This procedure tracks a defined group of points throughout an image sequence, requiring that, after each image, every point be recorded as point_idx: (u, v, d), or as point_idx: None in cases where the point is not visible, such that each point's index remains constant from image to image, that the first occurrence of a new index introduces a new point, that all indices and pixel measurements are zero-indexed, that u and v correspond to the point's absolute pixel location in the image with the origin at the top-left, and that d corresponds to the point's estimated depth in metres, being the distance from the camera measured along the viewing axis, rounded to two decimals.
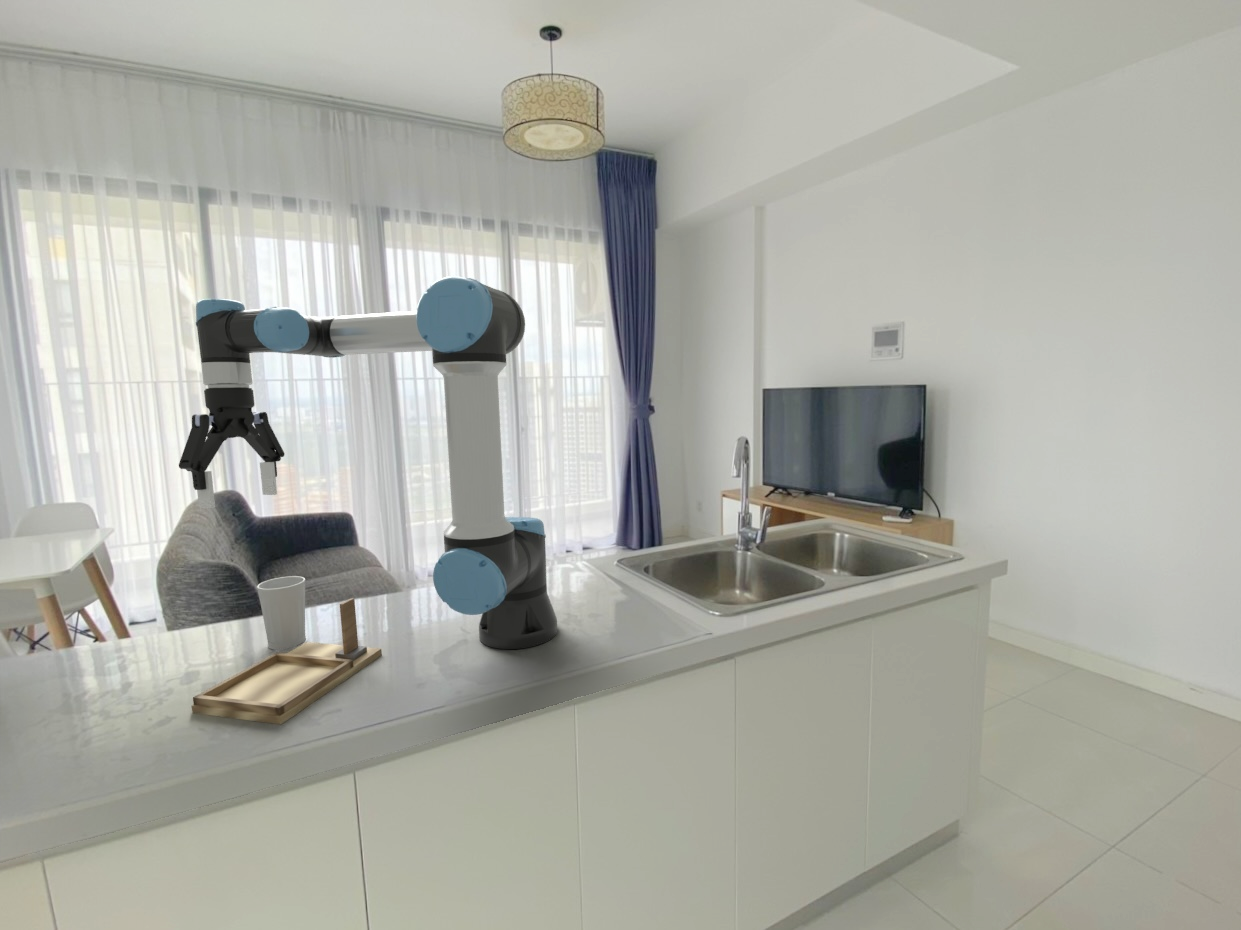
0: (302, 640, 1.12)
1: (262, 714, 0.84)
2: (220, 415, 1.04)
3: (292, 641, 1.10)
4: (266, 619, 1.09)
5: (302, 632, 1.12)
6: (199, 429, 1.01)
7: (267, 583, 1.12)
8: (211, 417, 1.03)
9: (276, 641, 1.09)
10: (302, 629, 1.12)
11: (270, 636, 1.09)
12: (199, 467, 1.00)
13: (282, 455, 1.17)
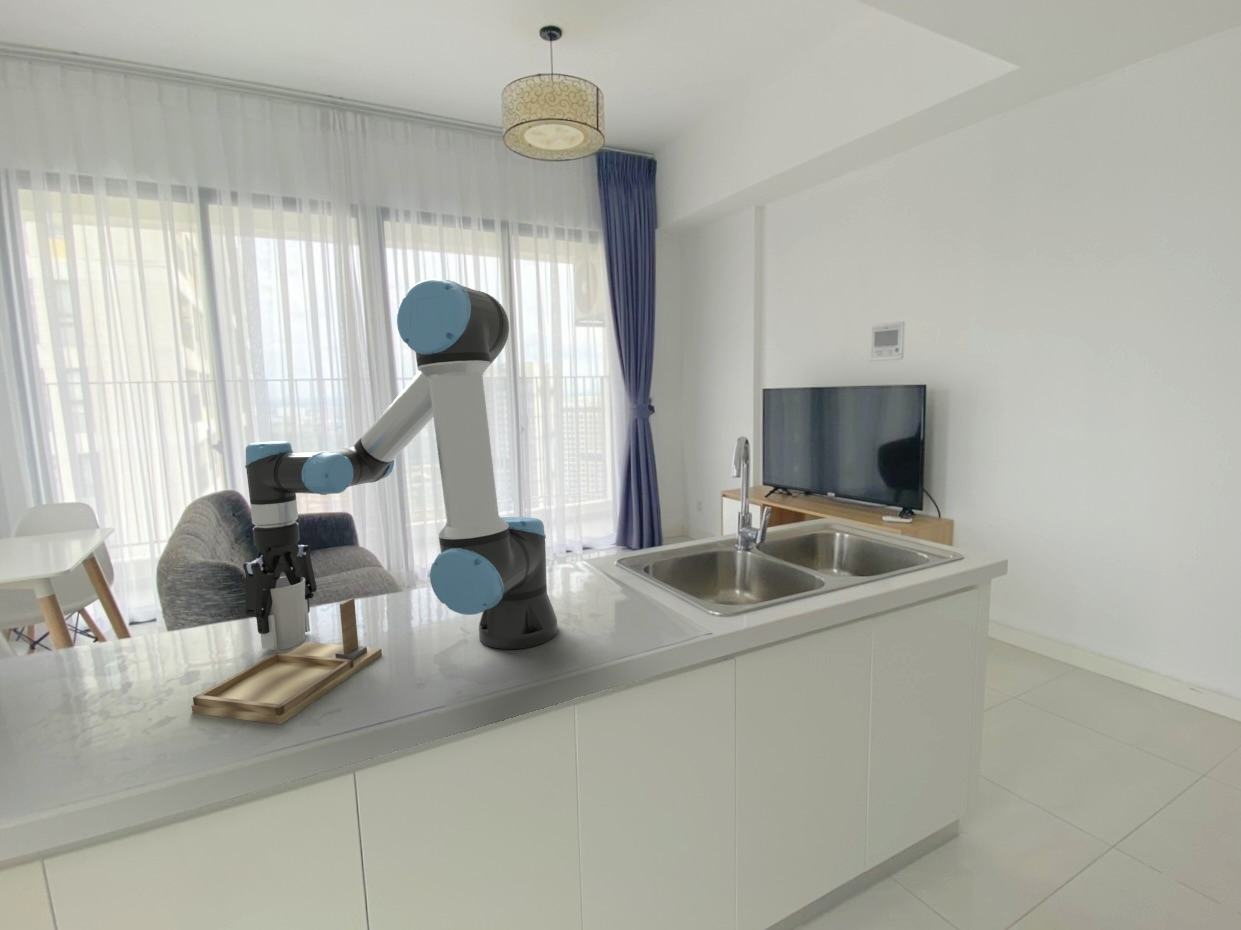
0: (302, 640, 1.12)
1: (262, 714, 0.84)
2: (268, 555, 1.07)
3: (292, 641, 1.10)
4: None
5: (302, 632, 1.12)
6: (254, 578, 1.04)
7: None
8: (260, 560, 1.06)
9: None
10: (302, 629, 1.12)
11: None
12: (263, 614, 1.06)
13: (314, 590, 1.18)
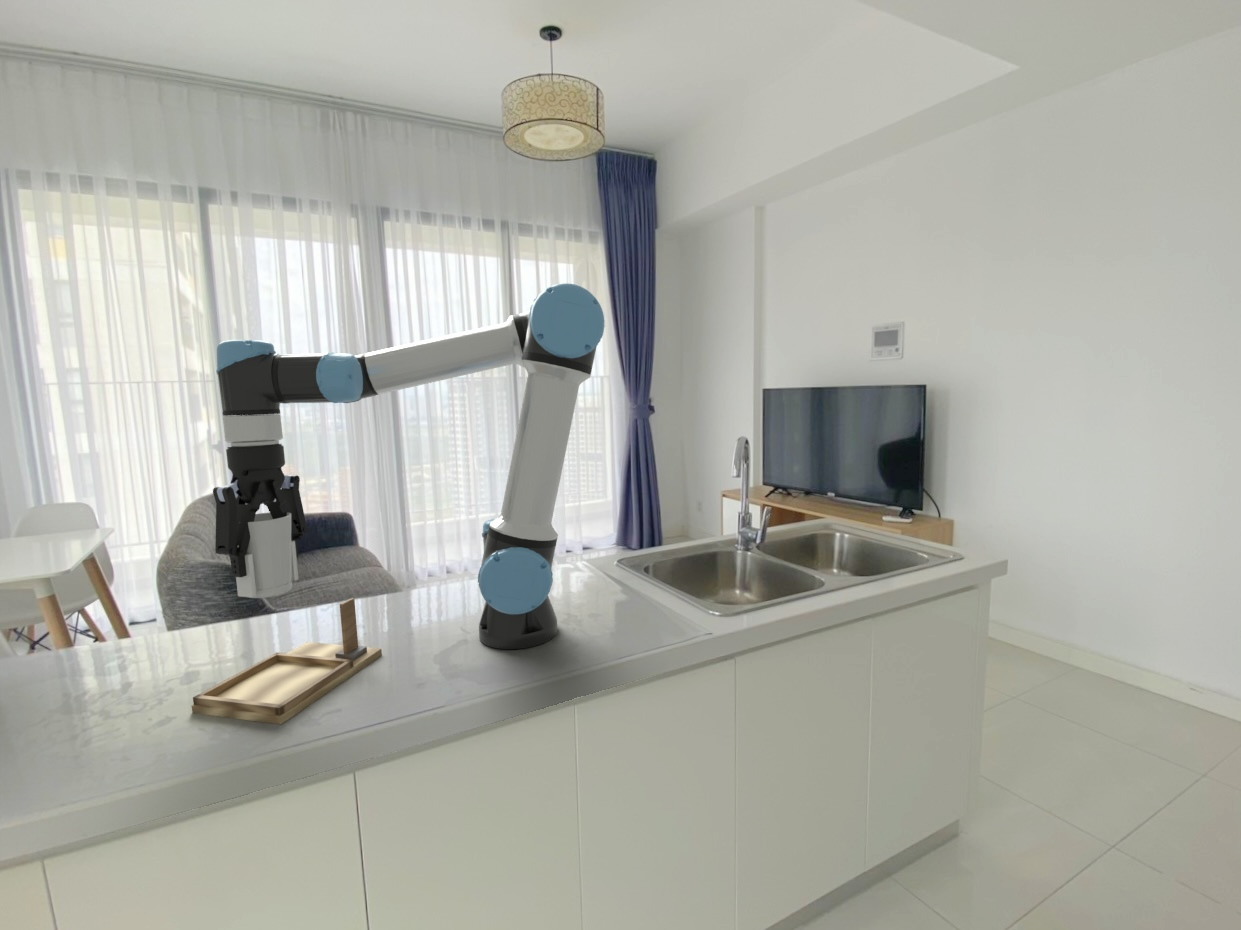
0: (287, 588, 0.92)
1: (262, 714, 0.84)
2: (244, 480, 0.86)
3: (275, 588, 0.90)
4: None
5: (287, 578, 0.92)
6: (226, 506, 0.84)
7: None
8: (235, 485, 0.85)
9: None
10: (288, 575, 0.92)
11: None
12: (239, 553, 0.85)
13: (304, 531, 0.97)
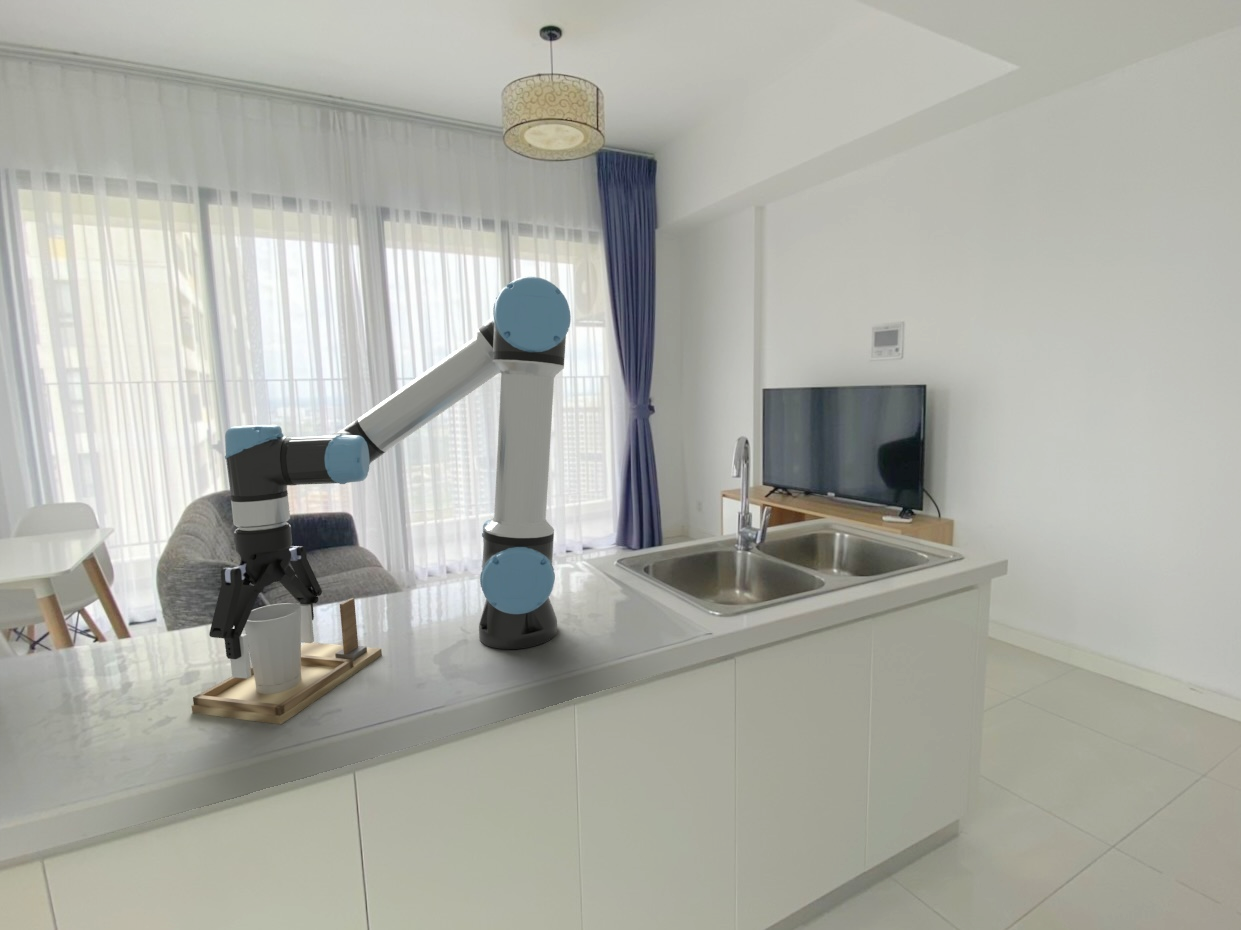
0: (297, 681, 0.93)
1: (262, 714, 0.84)
2: (253, 563, 0.87)
3: (285, 683, 0.91)
4: (253, 657, 0.90)
5: (297, 671, 0.93)
6: (230, 587, 0.84)
7: (255, 613, 0.93)
8: (243, 568, 0.86)
9: (265, 684, 0.90)
10: (297, 668, 0.93)
11: (258, 678, 0.90)
12: (233, 634, 0.84)
13: (319, 593, 1.00)
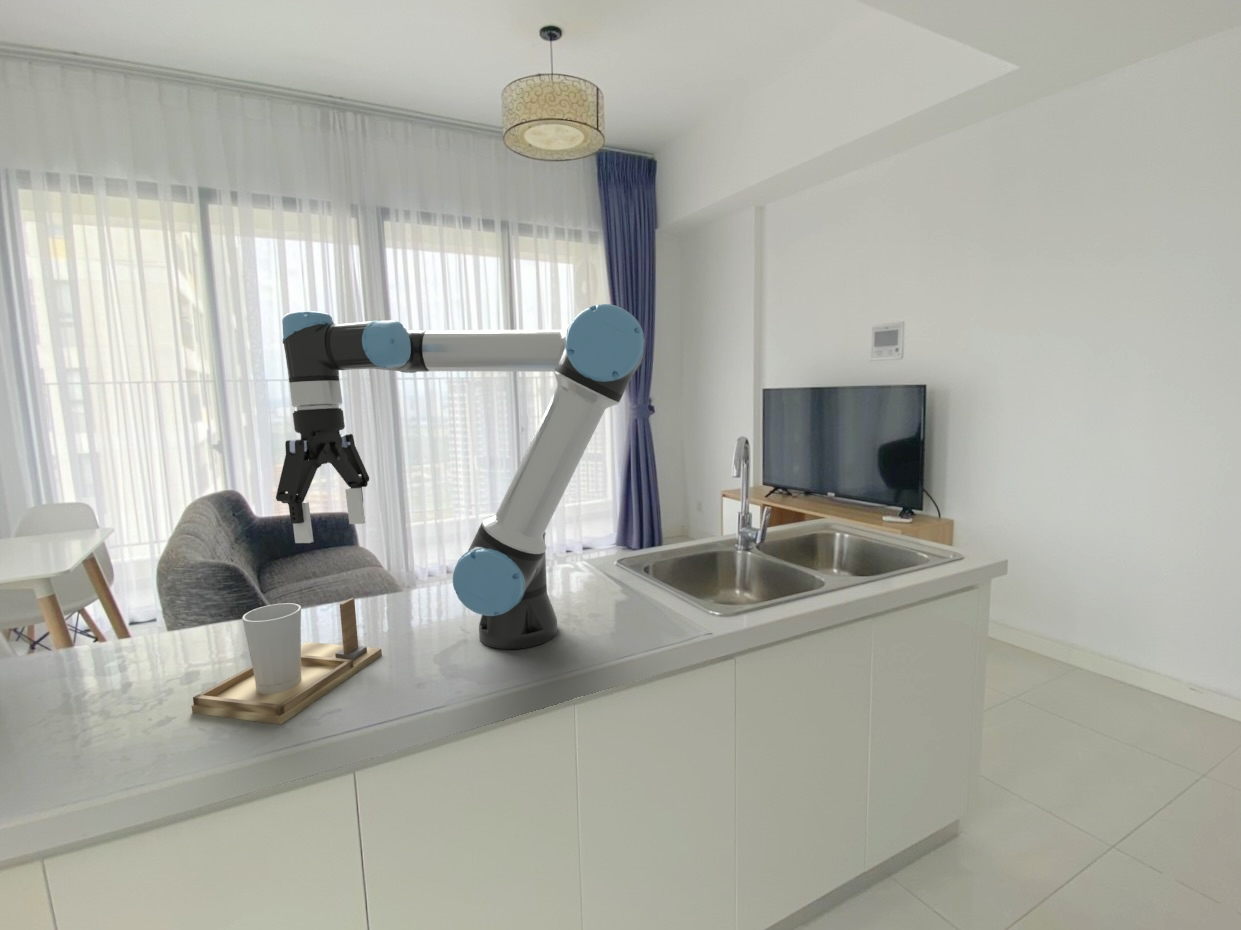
0: (297, 681, 0.93)
1: (262, 714, 0.84)
2: (313, 440, 0.94)
3: (286, 683, 0.91)
4: (253, 657, 0.90)
5: (297, 671, 0.93)
6: (295, 456, 0.91)
7: (255, 613, 0.93)
8: (304, 442, 0.93)
9: (265, 684, 0.90)
10: (297, 668, 0.93)
11: (258, 678, 0.90)
12: (297, 498, 0.90)
13: (367, 480, 1.08)
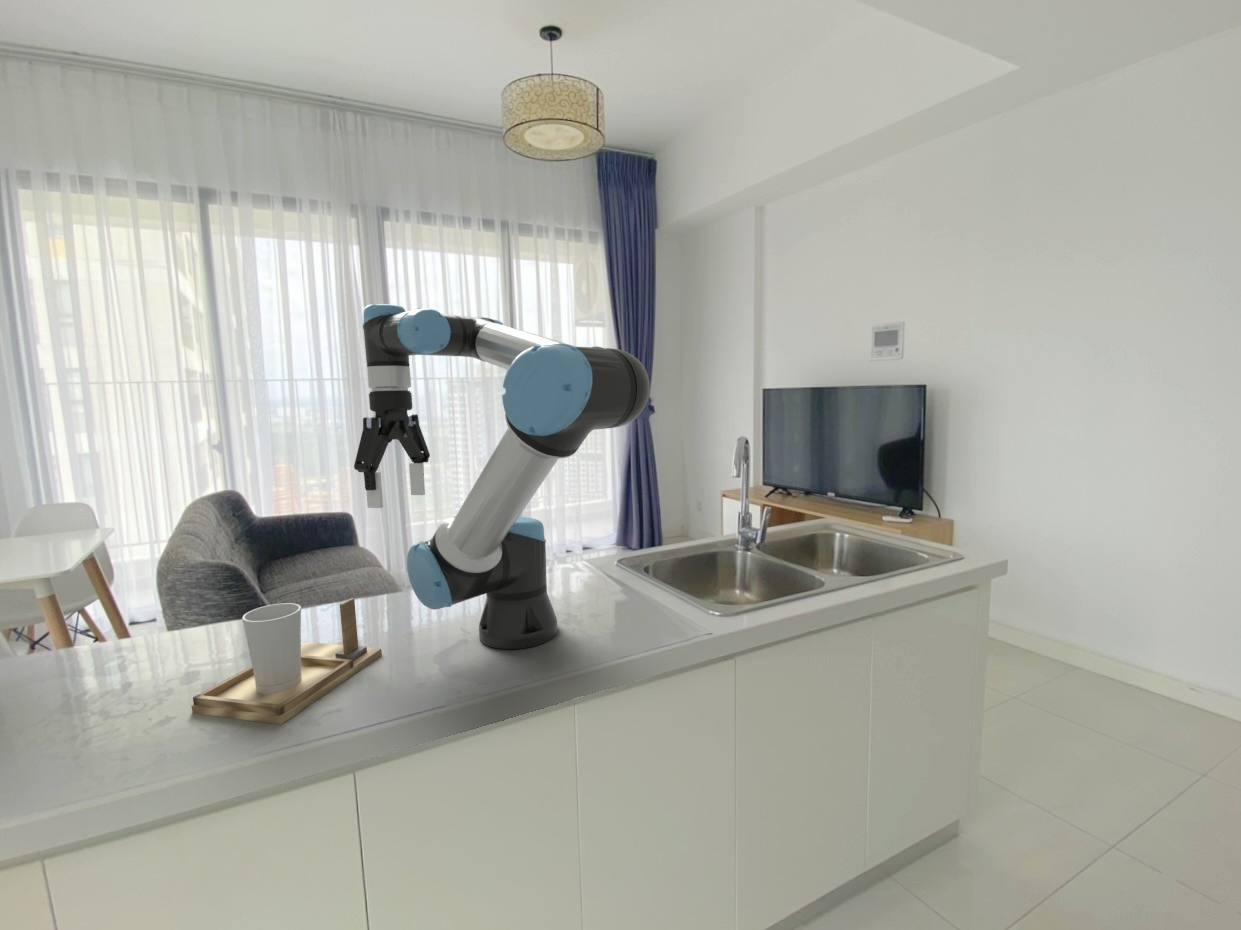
0: (297, 681, 0.93)
1: (262, 714, 0.84)
2: (386, 417, 1.07)
3: (286, 683, 0.91)
4: (253, 657, 0.90)
5: (297, 671, 0.93)
6: (371, 431, 1.03)
7: (254, 613, 0.93)
8: (379, 419, 1.06)
9: (265, 684, 0.90)
10: (297, 668, 0.93)
11: (258, 678, 0.90)
12: (372, 468, 1.03)
13: (428, 456, 1.20)
